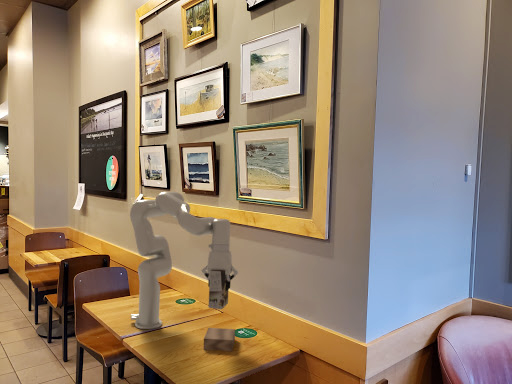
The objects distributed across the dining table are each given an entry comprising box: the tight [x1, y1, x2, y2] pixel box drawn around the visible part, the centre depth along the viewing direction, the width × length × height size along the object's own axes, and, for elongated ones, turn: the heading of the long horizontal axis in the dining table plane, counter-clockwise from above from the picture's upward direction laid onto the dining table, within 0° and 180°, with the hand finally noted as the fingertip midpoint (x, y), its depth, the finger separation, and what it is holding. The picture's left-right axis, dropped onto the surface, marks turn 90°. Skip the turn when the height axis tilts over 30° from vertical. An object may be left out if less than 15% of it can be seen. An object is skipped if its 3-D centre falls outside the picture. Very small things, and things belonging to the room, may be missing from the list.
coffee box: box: [208, 270, 229, 310], centre depth 167 cm, size 9×6×16 cm
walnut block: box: [203, 327, 236, 352], centre depth 167 cm, size 12×12×5 cm
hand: (219, 288), depth 167 cm, fingers closed on coffee box, 6 cm apart
